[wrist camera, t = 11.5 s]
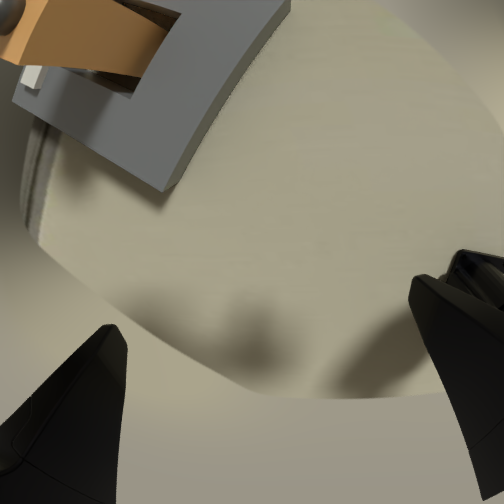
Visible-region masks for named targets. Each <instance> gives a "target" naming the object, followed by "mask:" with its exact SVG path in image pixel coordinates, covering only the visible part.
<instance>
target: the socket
mask: <svg viewBox="0 0 504 504" xmlns="http://www.w3.org/2000/svg"><path fill="white" fill-rule="evenodd" d="M113 1H115V2H117V3H119V4H121V5H122V4H123V3H128V4H131V5H135V6H139V7H142V8H145V9H149V10H152V11H155V12H158V13H161V14H164V15H167V16H170V17H172V18H175V19H178V20H177V21H176V22H175V24H174V25H173V27H172V28H171V30H170V31H169V33H168V34H167V36H166V38H165V39H164V41H163V42H162V44H161V45H160V47H159V49H158V50H157V52H156V54H155V55H154V57H153V59H152V60H151V62H150V64H149V66H148V67H147V69H146V71H145V73H144V75H143V76H142V78H141V80H140V82H139V84H138V86H137V88H136V90H135V91H134V92H133V91H131V90H129V89H127V88H125V87H123V86H120V85H118V84H116V83H114V82H112V81H110V80H108V79H105V78H103V77H101V76H99V75H97V74H94V73H92V72H90V71H87V70H86V69H80V68H69V67H56V66H34V65H24V67H23V70H22V73H21V75H20V78H19V81H18V84H17V87H16V90H15V93H14V96H13V100H12V102H14V103H16V104H17V105H19V106H21V107H22V108H24V109H26V110H27V111H29V112H31V113H32V114H34V115H36V116H37V117H39V118H41V119H42V120H44V121H46V122H47V123H49V124H51V125H52V126H54V127H55V128H57V129H59V130H60V131H62V132H64V133H65V134H67V135H69V136H70V137H72V138H74V139H75V140H77V141H79V142H80V143H82V144H83V145H85V146H87V147H88V148H90V149H92V150H93V151H95V152H97V153H98V154H100V155H102V156H103V157H105V158H106V159H108V160H110V161H111V162H113V163H115V164H116V165H118V166H120V167H121V168H123V169H124V170H126V171H128V172H129V173H131V174H133V175H134V176H136V177H138V178H139V179H141V180H142V181H144V182H146V183H147V184H149V185H151V186H152V187H154V188H156V189H157V190H159V191H160V192H164V191H165V190H167V189H168V188H170V187H171V186H173V185H174V184H176V183H177V182H179V180H180V179H181V177H182V175H183V173H184V171H185V169H186V167H187V166H188V164H189V162H190V160H191V158H192V157H193V155H194V153H195V151H196V149H197V148H198V146H199V144H200V143H201V141H202V139H203V137H204V136H205V134H206V132H207V131H208V129H209V127H210V126H211V124H212V122H213V121H214V119H215V117H216V116H217V114H218V112H219V111H220V109H221V108H222V106H223V104H224V103H225V101H226V100H227V98H228V97H229V95H230V94H231V92H232V90H233V89H234V87H235V86H236V84H237V83H238V81H239V80H240V78H241V77H242V75H243V74H244V73H245V71H246V70H247V68H248V67H249V65H250V64H251V62H252V61H253V60H254V58H255V57H256V55H257V54H258V53H259V51H260V50H261V48H262V47H263V46H264V44H265V43H266V42H267V40H268V39H269V38H270V36H271V35H272V34H273V32H274V31H275V30H276V28H277V27H278V26H279V24H280V23H281V22H282V21H283V19H284V18H285V17H286V16H287V14H288V13H289V12H290V10H291V0H113Z"/></svg>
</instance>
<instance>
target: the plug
mask: <svg viewBox="0 0 504 504" xmlns="http://www.w3.org/2000/svg"><path fill="white" fill-rule="evenodd" d="M168 33H169V32H168V31H166V30H165V29H163V28H161V27H160V26H158V25H156V24H155V23H153V22H151V21H150V20H148V19H146V18H144V17H143V16H141V15H139V14H137V13H136V12H134V11H132V10H130V9H128V8H126V7H124V6H123V5H121V4H119V3H117V2H115V1H113V0H0V58H2V59H4V60H7V61H9V62H12V63H14V64H16V65H34V66H56V67H69V68H80V69H89V70H97V71H104V72H111V73H118V74H124V75H130V76H135V77H140V78H142V76H143V75H144V73H145V71H146V69H147V67H148V66H149V64H150V62H151V60H152V59H153V57H154V55H155V54H156V52H157V50H158V49H159V47H160V45H161V44H162V42H163V41H164V39H165V38H166V36H167V34H168Z"/></svg>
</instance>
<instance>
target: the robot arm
mask: <svg viewBox="0 0 504 504" xmlns="http://www.w3.org/2000/svg"><path fill="white" fill-rule="evenodd" d="M463 255H464V256H463ZM462 256H463V257H462ZM408 302H409V306H410V308H411V311H412V313H413V316H414V318H415V321H416V323H417V326H418V328H419V331H420V334H421V337H422V339H423V342H424V344H425V346H426V348H427V351H428V353H429V355H430V357H431V359H432V361H433V363H434V365H435V368H436V370H437V372H438V374H439V376H440V379H441V381H442V383H443V385H444V388H445V390H446V393H447V395H448V397H449V399H450V402H451V404H452V407H453V410H454V412H455V415H456V417H457V420H458V423H459V425H460V428H461V431H462V434H463V436H464V439H465V442H466V445H467V448H468V450H469V455H470V458H471V461H472V464H473V468H474V471H475V475H476V478H477V482H478V485H479V489H480V493H481V497H482V500H483V501H484V500H487V499H489V498H490V497H493V496H495V495H497V494H498V493H500V492H502V491H504V257H500V256H495V255H490V254H485V253H480V252H476V251H471V250H466V249H462V250H460V251H459V253H458V255H457V257H456V260H455V263H454V265H453V268H452V271H451V273H450V276H449V278H448V281H447V283H444V282H442V281H440V280H438V279H435V278H433V277H431V276H429V275H427V274H421V275H417V276H415V277H413V279H412V283H411V287H410V292H409V296H408ZM127 352H128V348H127V343H126V341H125V340H124V338H123V336H122V334H121V333H120V331H119V329H118V327H117V326H116V325H114V324H106V325H102V326H101V327H100V328H99V329H98V330H97V331H96V332H95V333H94V334H93V335H92V336H91V337H90V338H88V339H87V340H86V341H85V342H84V343H83V344H82V345H81V346H80V347H79V348H78V349H77V350H76V351H75V352H74V353H73V354H72V355H71V356H70V357H69V358H68V359H67V360H66V361H65V362H64V363H63V364H62V365H61V366H60V367H58V369H57V370H55V371H54V372H53V373H52V374H51V375H50V376H49V377H48V378H47V380H45V382H44V383H43V384H42V385H41V386H40V387H39V388H38V389H37V390H36V391H35V392H34V393H33V394H32V395H31V397H29V398H28V399H27V400H26V401H25V402H24V403H23V404H22V405H21V406H20V407H19V408H18V409H17V410H16V411H15V412H14V413H13V414H12V415H11V416H10V417H9V418H8V419H7V420H6V421H5V422H4V423H3V424H2V425H1V426H0V504H116V485H117V466H118V465H117V464H118V453H119V441H120V431H121V422H122V414H123V406H124V399H125V388H126V367H127Z"/></svg>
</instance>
